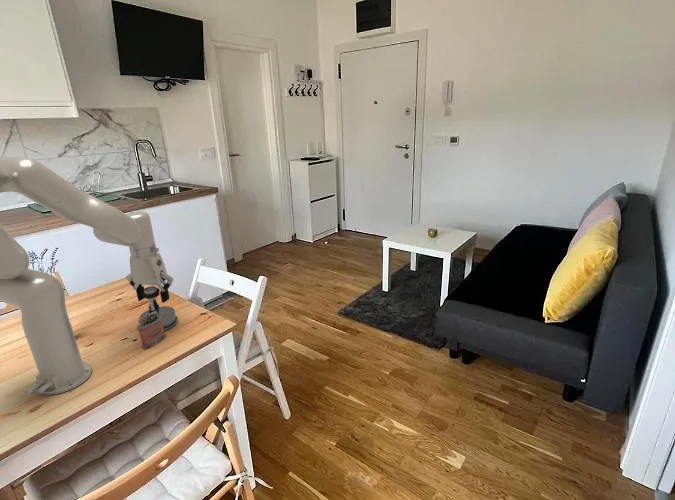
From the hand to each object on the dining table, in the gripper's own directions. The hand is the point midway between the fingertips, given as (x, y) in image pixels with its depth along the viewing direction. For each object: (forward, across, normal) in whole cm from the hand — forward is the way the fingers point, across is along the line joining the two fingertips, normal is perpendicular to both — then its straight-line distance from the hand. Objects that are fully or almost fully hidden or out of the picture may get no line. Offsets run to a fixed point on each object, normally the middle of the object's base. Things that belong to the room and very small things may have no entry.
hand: (154, 299), depth 127 cm
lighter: (+10, -5, +10) cm, 15 cm away
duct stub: (+10, 0, 0) cm, 10 cm away
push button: (+6, 0, 0) cm, 6 cm away
